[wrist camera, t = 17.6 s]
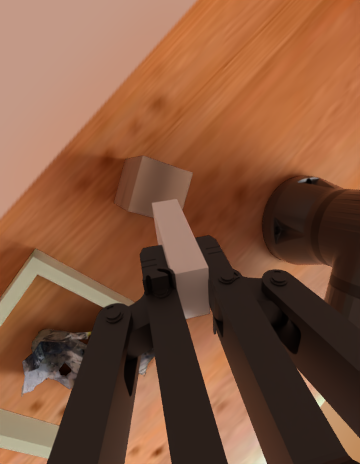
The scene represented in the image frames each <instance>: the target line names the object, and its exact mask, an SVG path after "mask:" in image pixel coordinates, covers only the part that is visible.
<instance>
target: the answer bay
mask: <svg viewBox="0 0 360 464" xmlns="http://www.w3.org/2000/svg"><path fill="white" fill-rule="evenodd" d="M37 274H38V275H40V276H42V277H44V278H46V279H48V280H50V281H52V282H54V283H56V284H58V285H60V286H62V287H64V288H66V289H68V290H70V291H72V292H74V293H76V294H78V295H80V296H82V297H84V298H86V299H87V300H89V301H91V302H93V303H95V304H97V305H99V306H101V307H103V308H104V307H106V306H108V305H110V304H114V303H123V304H125V305H127V306H130V305H132V304H134V303H135V302H134V301H132V300H130V299H128V298H126V297H124V296H123V295H121V294H119V293H117V292H115V291H113V290H111V289H110V288H108V287H106V286H104V285H102V284H100V283H99V282H97V281H95V280H93V279H91V278H89V277H87V276H86V275H84V274H82V273H80V272H78V271H76V270H74V269H73V268H71V267H69V266H67V265H65V264H63V263H62V262H60V261H58V260H56V259H54V258H52V257H50V256H49V255H47V254H45V253H43V252H41V251H39V250H38V249H36V248H35V250H34V251H33V253H32V254H31V255H30V257H29V258H28V260H27V261H26V262H25V264H24V265H23V267H22V268H21V269H20V271H19V272H18V274H17V275H16V276H15V278H14V279H13V281H12V282H11V283H10V285H9V286H8V288H7V289H6V290H5V292H4V293H3V295H2V296H1V297H0V326H1V325H2V324H3V322H4V321H5V319H6V318H7V317H8V315H9V314H10V312H11V311H12V310H13V308H14V307H15V305H16V304H17V302H18V301H19V300H20V298H21V297H22V295H23V294H24V293H25V291H26V290H27V288H28V287H29V285H30V284H31V283H32V281H33V280H34V278H35V277H36V276H37ZM58 429H59V426H58V425H55V424H51V423H48V422H44V421H41V420H38V419H34V418H31V417H27V416H24V415H20V414H17V413H13V412H10V411H6V410H3V409H0V448H4V449H8V450H13V451H17V452H21V453H25V454H30V455H34V456H38V457H43V458H47V459H48V458H49V455H50V452H51V449H52V447H53V444H54V441H55V438H56V435H57V432H58Z"/></svg>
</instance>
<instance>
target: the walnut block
mask: <svg viewBox="0 0 360 464" xmlns="http://www.w3.org/2000/svg"><path fill="white" fill-rule="evenodd" d="M192 175H193V173H192V172H189V171H186V170H183V169H180V168H177V167H175V166H172V165H169V164H166V163H163V162H160V161H157V160H154V159H151V158H149V157H146V156H138V157H133V158H129V159H125V162H124V166H123V170H122V174H121V177H120V181H119V185H118V189H117V193H116V196H115V200H114V204H116V205H118V206H120V207H121V208H123V209H125V210H127V211H129V212H133V213H137V214H141V215H145V216H148V217H152V218H154V214H153V208H152V203H155V202H161V201H167V200H173V199H177V200H178V203H179V205H180V207H181V209H182V210H183V206H184V203H185V199H186V196H187V192H188V189H189V185H190V182H191V178H192Z"/></svg>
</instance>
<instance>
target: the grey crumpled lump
mask: <svg viewBox="0 0 360 464" xmlns="http://www.w3.org/2000/svg"><path fill="white" fill-rule="evenodd" d="M38 333H39V334H38V335H37V336H36V337H35V339H34V340H33V342H32V347H31V348H32V352H33V353H32V354H31V355H30V356H28V357H27V358H26V359H25V360H24V361H22V363H23V369H24V375H25V380H24V384H23V386H22V395H23V394H24V393H27V392H30V391H33V389H34V388H35V386H37V385H38V384H40V383H42V382H43V381H44V380H45V379H46V380H47V378H50V379H54V380H57V381H59V382H60V383H61V384H63V385H64V386H66V387H67V388H68V389H71V388H72V387H73V385H74V382H75V379H76V376H77V373H78V370H79V368H80V365H81V362H82V359H83V356H84V353H85V350H86V347H87V345H86V344H84V343H83V342H81V341H79V340H77V339H88V336H89V335H90V334H91V332H83V333H72V332H68V331H61V330H53V329H44V330H42V331H40V332H38ZM153 357H155V353H154V348H152V349H150V350H149V351H147V352H145V353H143V354H142V355H141V361H140V368H139V374H141V375H143V374H144V373H145V374H146V373H147V372H146V369H147V365H148V363H149V362H150V361H151V360H152V359H153ZM153 361H154V360H153ZM64 363H66V364H67V365H68V366H69V367H70V368H71V369H72V370H71V372H70V373H69V374H67V376H65V375H60V373H59V369H60V368H61V366H62V365H63V364H64ZM144 376H145V375H144Z"/></svg>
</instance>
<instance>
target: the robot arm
mask: <svg viewBox="0 0 360 464" xmlns="http://www.w3.org/2000/svg"><path fill="white" fill-rule="evenodd" d="M152 208H153V214H154V221H155V228H156V235H157V241H158V246H152V247H147V248H143V249H142V251H141V253H140V260H141V266H142V273H143V280H142V281H143V285H144V290H145V292H144V294H143V296H142V297H141V298H140V299H139V300H138V301H137V302H135V303H134V304H132V305H130V306H127V305H125V304H123V303H114V304H110V305H108V306H106V307H104V308H103V309H102V310H101V311H100V312H99V314H98V315H97V318H96V321H95V324H94V327H93V330H92V332H91V335H90V338H89V341H88V344H87V347H86V350H85V353H84V356H83V359H82V362H81V365H80V368H79V370H78V373H77V376H76V379H75V382H74V385H73V388H72V391H71V394H70V397H69V400H68V403H67V406H66V409H65V411H64V414H63V417H62V420H61V423H60V426H59V429H58V432H57V435H56V438H55V441H54V444H53V447H52V449H51V452H50V455H49V458H48V461H47V464H124V463H125V456H126V450H127V444H128V437H129V431H130V425H131V418H132V412H133V406H134V399H135V393H136V387H137V380H138V374H139V368H140V361H141V355H142V354H143V353H145V352H147V351H149V350H150V349H152V348H154V353H155V360H156V366H157V372H158V379H159V385H160V392H161V398H162V405H163V411H164V417H165V424H166V430H167V437H168V443H169V449H170V456H171V462H172V464H228V462H227V459H226V456H225V452H224V449H223V445H222V442H221V438H220V435H219V432H218V428H217V425H216V421H215V418H214V414H213V411H212V408H211V404H210V401H209V397H208V394H207V390H206V387H205V384H204V380H203V377H202V373H201V370H200V366H199V363H198V360H197V356H196V353H195V349H194V346H193V342H192V339H191V336H190V332H189V329H188V325H187V322H186V319H188V318H193V317H197V316H202V315H206V314H210V308H211V310H212V313H213V332H214V334H216V331H217V334H218V336H219V339H220V341H221V344H222V347H223V349H224V352H225V354H226V357H227V360H228V362H229V365H230V368H231V370H232V373H233V375H234V378H235V381H236V383H237V386H238V389H239V391H240V394H241V396H242V399H243V402H244V404H245V407H246V410H247V412H248V415H249V417H250V420H251V423H252V425H253V428H254V431H255V433H256V436H257V438H258V441H259V444H260V446H261V449H262V451H263V454H264V457H265V459H266V462H267V464H360V463H358V462H357V461H355V460H353V459H352V458H351V457H350V456H349V455H348V454H347V452H346V451H345V449H344V448H343V446H342V445H341V443H340V441H339V439H338V438H337V436H336V434H335V433H334V431H333V429H332V427H331V426H330V424H329V422H328V421H327V419H326V417H325V416H324V414H323V412H322V410H321V409H320V407H319V405H318V404H317V402H316V400H315V399H314V397H313V395H312V393H311V392H310V390H309V388H308V387H307V385H306V383H305V382H304V380H303V378H302V376H301V375H300V373H299V371H300V372H301V373H302V374H303V375H304V377H305V378H306V379H307V380H308V381H309V382H310V383H311V384H312V385H313V387H314V388H315V389H316V390H317V391H318V392H319V393H320V394H321V395H322V397H323V398H324V399H325V400H326V401H327V402H328V403H329V404H330V405H331V407H332V408H333V409H334V410H335V411H336V412H337V413H338V414H339V415H340V417H341V418H342V419H343V420H344V421H345V422H346V423H347V424H348V425H349V427H350V428H351V429H352V430H353V431H354V432H355V433H356V434H357V436H358V437H359V438H360V190H351V189H343V188H341V187H339V186H337V185H334V184H332V183H330V182H328V181H326V180H323V179H321V178H318V177H313V176H298V177H294V178H291V179H289V180H287V181H285V182H284V183H282V184H281V185H280V186H279V187H278V188H277V189H276V190H275V191H274V193H273V194H272V195H271V197H270V199H269V201H268V203H267V205H266V208H265V211H264V216H263V236H264V240H265V243H266V245H267V247H268V249H269V250H270V251H271V253H272V254H273V255H274V256H276V257H277V258H279V259H281V260H283V261H286V262H288V263H291V264H295V265H319V264H325V265H328V266H331V267H333V268H332V272H331V276H330V280H329V283H328V287H327V291H326V295H325V299H324V300H323V299H321V298H320V297H319V296H318V295H316V294H315V293H314V292H313V291H311V290H310V289H309V288H307V287H306V286H305V285H304V284H302V283H301V282H300V281H299V280H297V279H296V278H295V277H294V276H292V275H291V274H289V273H288V272H286V271H283V270H274V269H273V270H269V271H267V272H265V273H264V274H263V276H262V278H247V277H243V276H242V275H241V274H240V273H239V272H238V271H236V270H234V269H232V267H231V265H230V263H229V261H228V260H227V258H226V256H225V254H224V253H223V252H222V249H221V247H220V246H219V244H218V242H217V240H216V239H214V238H213V237H211V236H210V235H208V236H202V237H197V238H195V237H194V235H193V233H192V231H191V229H190V226H189V224H188V222H187V220H186V218H185V216H184V213H183V211H182V209H181V207H180V205H179V203H178V200H177V199H173V200H167V201H161V202H155V203H152ZM297 369H298V370H299V371H298V370H297Z"/></svg>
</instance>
